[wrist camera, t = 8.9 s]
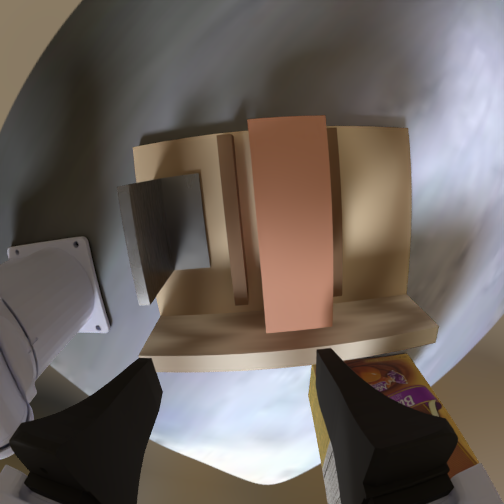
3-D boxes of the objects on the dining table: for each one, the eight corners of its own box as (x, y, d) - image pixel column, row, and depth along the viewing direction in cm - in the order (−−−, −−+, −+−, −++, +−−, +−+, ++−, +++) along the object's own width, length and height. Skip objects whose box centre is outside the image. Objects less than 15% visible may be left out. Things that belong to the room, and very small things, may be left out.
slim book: (262, 276, 20) (266, 333, 13) (250, 135, 17) (247, 119, 11) (308, 272, 20) (332, 326, 13) (299, 132, 17) (325, 115, 11)
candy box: (408, 347, 23) (495, 481, 8) (397, 385, 24) (462, 514, 10) (310, 356, 23) (352, 533, 8) (305, 395, 24) (333, 554, 10)
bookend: (167, 269, 20) (139, 305, 15) (153, 179, 18) (117, 186, 13) (210, 265, 20) (195, 302, 15) (199, 172, 18) (177, 177, 13)
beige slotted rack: (167, 323, 22) (143, 371, 17) (138, 147, 19) (95, 144, 13) (399, 302, 22) (435, 342, 16) (401, 129, 18) (449, 121, 12)
